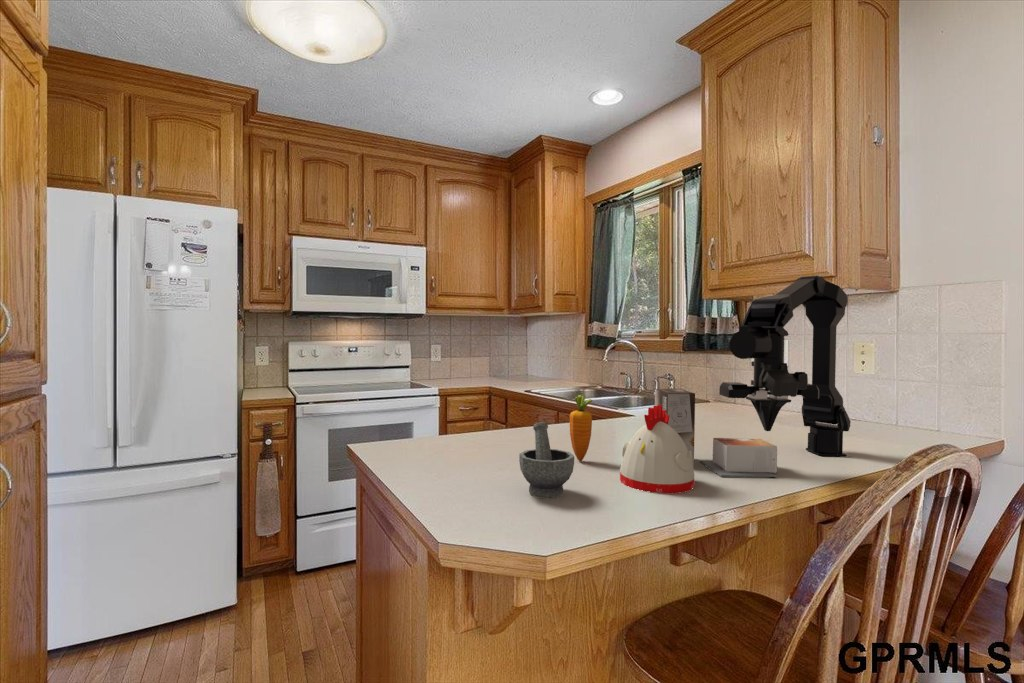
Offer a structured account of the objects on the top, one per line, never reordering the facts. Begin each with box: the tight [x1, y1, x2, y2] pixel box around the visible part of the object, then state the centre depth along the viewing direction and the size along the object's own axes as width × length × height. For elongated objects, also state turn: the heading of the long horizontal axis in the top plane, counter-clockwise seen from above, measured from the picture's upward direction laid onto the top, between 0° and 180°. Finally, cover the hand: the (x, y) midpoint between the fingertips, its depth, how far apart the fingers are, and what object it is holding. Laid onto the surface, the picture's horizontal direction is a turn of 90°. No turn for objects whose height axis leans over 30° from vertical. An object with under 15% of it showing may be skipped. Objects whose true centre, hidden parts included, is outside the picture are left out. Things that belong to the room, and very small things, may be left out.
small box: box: [712, 437, 778, 473], centre depth 111 cm, size 8×6×10 cm
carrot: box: [569, 394, 593, 462], centre depth 116 cm, size 5×5×15 cm
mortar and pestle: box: [518, 421, 575, 499], centre depth 94 cm, size 11×9×12 cm
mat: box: [699, 459, 777, 478], centre depth 111 cm, size 11×12×1 cm
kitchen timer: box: [619, 405, 695, 494], centre depth 101 cm, size 14×14×15 cm
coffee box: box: [654, 388, 696, 467], centre depth 117 cm, size 9×6×16 cm
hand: (767, 430), depth 111 cm, fingers closed
